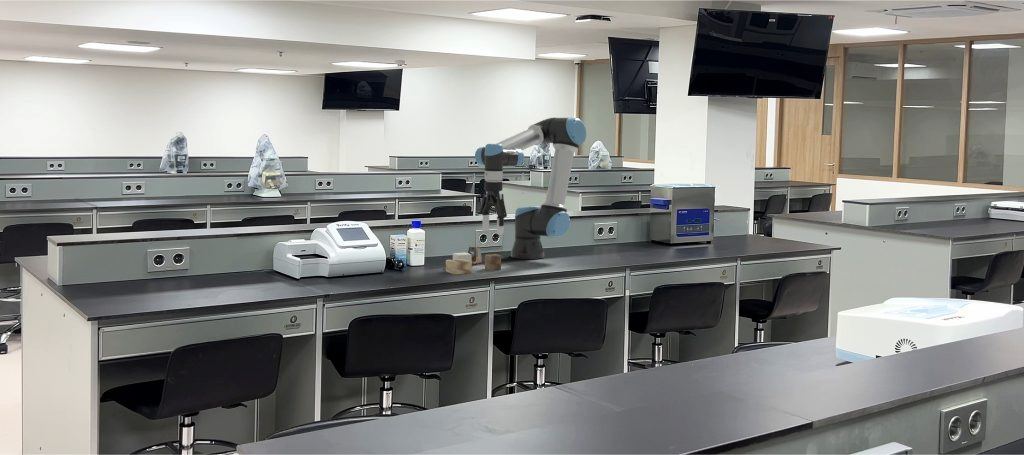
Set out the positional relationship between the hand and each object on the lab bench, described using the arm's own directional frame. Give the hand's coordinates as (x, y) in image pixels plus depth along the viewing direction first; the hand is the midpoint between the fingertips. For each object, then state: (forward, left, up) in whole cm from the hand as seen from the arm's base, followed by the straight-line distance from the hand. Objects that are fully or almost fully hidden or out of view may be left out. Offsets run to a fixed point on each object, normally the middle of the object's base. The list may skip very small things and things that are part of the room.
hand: (492, 232), depth 388 cm
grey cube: (+10, -9, -16) cm, 21 cm away
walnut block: (0, 0, -16) cm, 16 cm away
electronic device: (+1, -17, -16) cm, 23 cm away
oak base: (+16, +1, -16) cm, 22 cm away
